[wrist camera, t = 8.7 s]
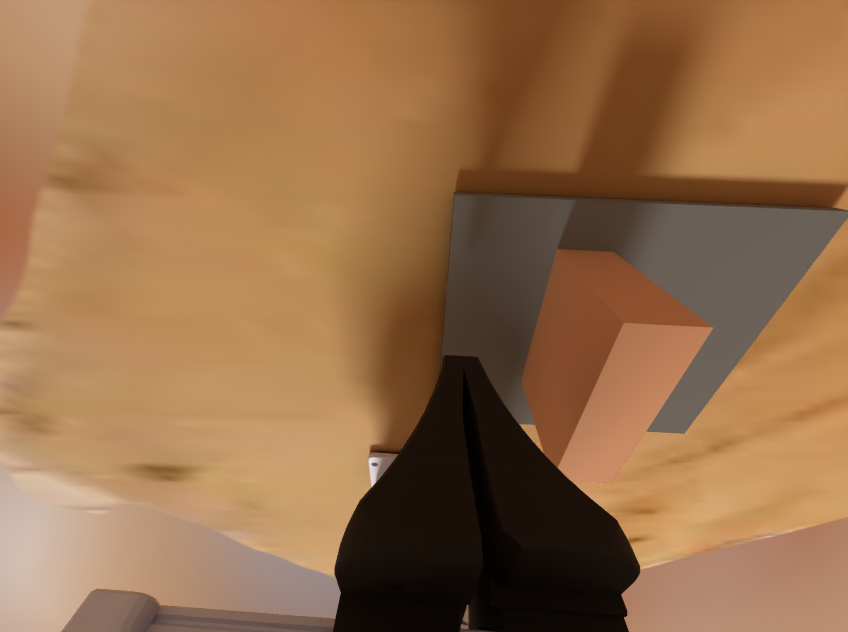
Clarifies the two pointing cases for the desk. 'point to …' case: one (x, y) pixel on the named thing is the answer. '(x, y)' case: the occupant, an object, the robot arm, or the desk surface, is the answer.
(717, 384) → the mat
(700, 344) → the slab
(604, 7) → the desk surface
